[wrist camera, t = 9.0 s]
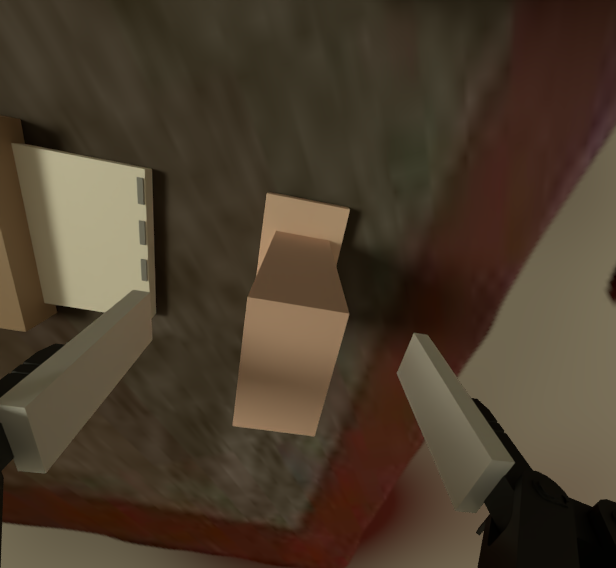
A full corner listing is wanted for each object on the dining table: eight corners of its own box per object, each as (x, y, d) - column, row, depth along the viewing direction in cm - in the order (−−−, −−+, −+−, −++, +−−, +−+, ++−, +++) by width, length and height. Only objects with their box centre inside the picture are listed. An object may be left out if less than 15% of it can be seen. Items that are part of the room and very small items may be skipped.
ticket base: (-11, 302, 24) (-51, 320, 22) (-70, 101, 18) (-136, 90, 16) (156, 327, 25) (138, 348, 23) (151, 145, 20) (125, 143, 17)
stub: (250, 329, 25) (208, 457, 14) (268, 191, 21) (225, 227, 10) (316, 339, 26) (323, 471, 15) (348, 207, 21) (393, 258, 10)
